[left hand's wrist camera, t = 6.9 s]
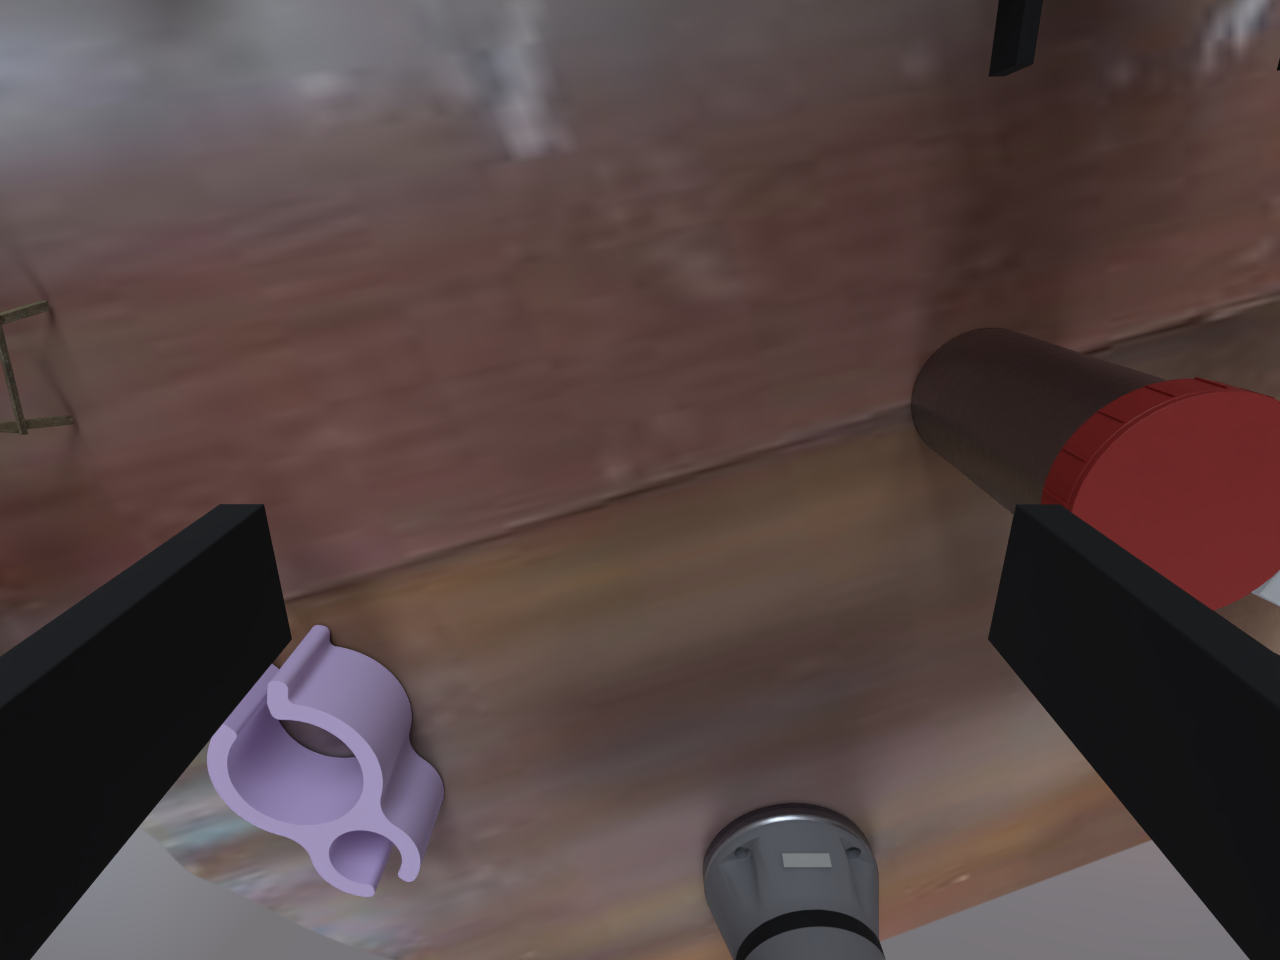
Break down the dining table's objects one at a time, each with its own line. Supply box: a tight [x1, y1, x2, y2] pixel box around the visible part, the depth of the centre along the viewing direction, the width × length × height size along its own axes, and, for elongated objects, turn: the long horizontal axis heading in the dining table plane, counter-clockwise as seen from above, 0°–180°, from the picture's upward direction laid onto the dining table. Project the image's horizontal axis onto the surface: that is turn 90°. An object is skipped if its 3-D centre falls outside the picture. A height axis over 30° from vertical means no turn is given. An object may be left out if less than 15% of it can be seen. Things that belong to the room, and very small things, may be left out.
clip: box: [207, 625, 444, 897], centre depth 55 cm, size 20×12×7 cm, turn 26°
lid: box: [1041, 377, 1280, 611], centre depth 30 cm, size 10×10×2 cm
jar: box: [911, 328, 1167, 515], centre depth 39 cm, size 9×9×20 cm
